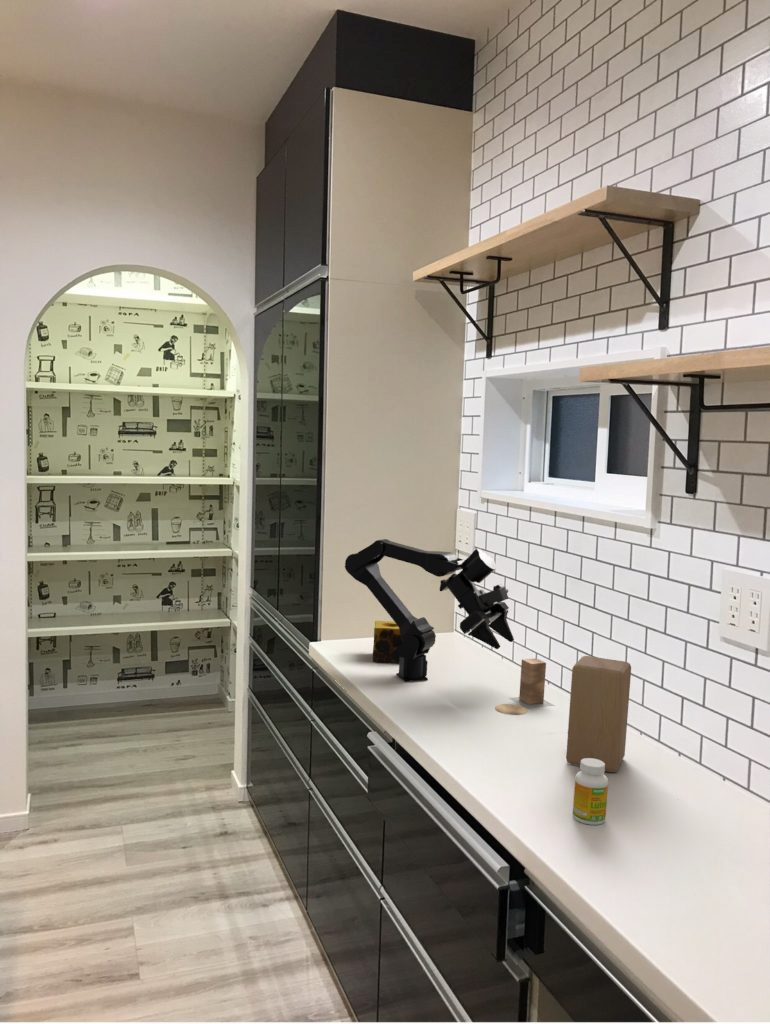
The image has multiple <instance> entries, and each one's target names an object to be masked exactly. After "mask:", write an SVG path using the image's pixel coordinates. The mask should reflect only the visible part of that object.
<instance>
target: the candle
mask: <svg viewBox="0 0 770 1024" xmlns="http://www.w3.org/2000/svg"><path fill="white" fill-rule="evenodd" d="M373 628H374V629H373V646H372V647H373V648H372V662H373V663H376V664H397V665H399V660H400V657H398V656H397V652H396V648H397V647H398V646H399V645H401V644H402V643H403V640H402V638H401V634H400V630H399V627H398V625H397V624H396V623H395V622H394V620H391V621H390V620H374V627H373Z"/></svg>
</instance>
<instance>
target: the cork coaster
mask: <svg viewBox="0 0 770 1024" xmlns="http://www.w3.org/2000/svg"><path fill="white" fill-rule="evenodd" d="M494 709H495V711H497V712H499V713H501V714H506V715H511V716H520V715H525V714H527V713H528V712H529V711H528V708H525V707H523V706H521V705H520V704H514V703H500V704H497V705H495V706H494Z"/></svg>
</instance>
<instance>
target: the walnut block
mask: <svg viewBox="0 0 770 1024" xmlns="http://www.w3.org/2000/svg"><path fill="white" fill-rule="evenodd" d="M546 668H547V662H545V661H544V660H541V659H539V658H536V657H535V658H522V659H521V666H520V679H519V680H520V682H519V696H518V697H519V700H521V701H523V702H524V703H526V704H528V705H533V704H543V702H544V700H545V686H546V670H547V669H546Z"/></svg>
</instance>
